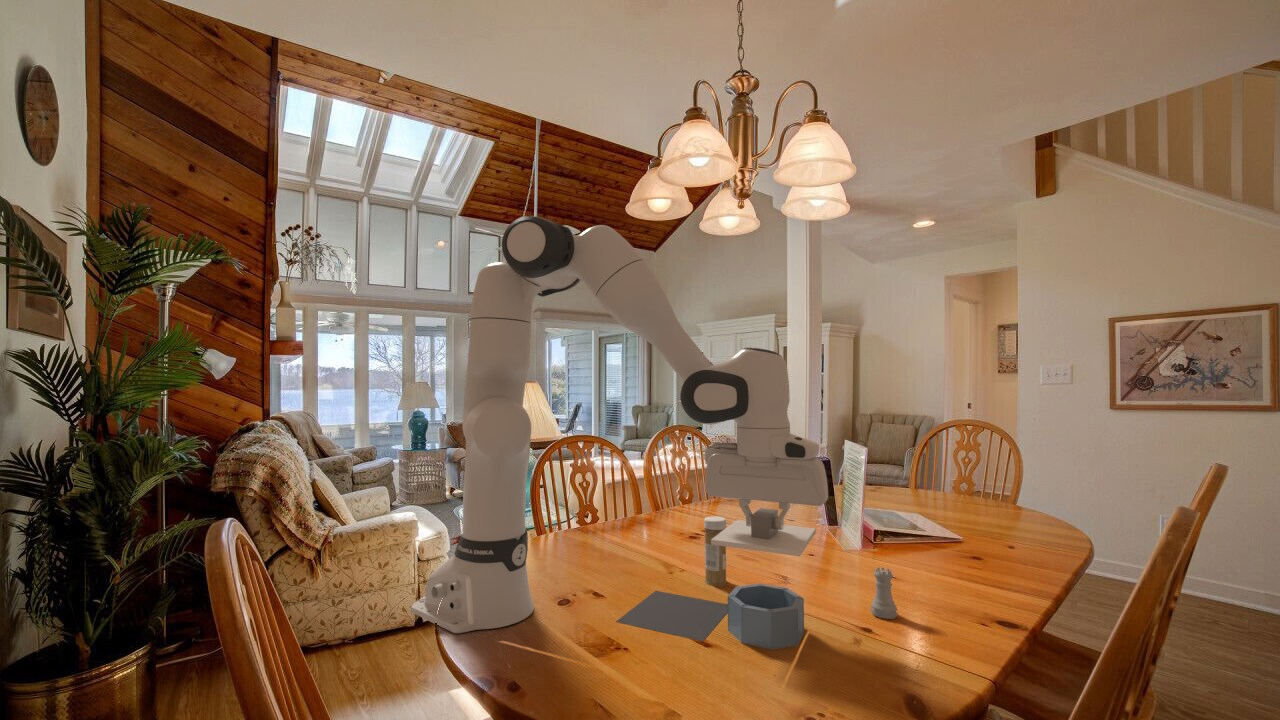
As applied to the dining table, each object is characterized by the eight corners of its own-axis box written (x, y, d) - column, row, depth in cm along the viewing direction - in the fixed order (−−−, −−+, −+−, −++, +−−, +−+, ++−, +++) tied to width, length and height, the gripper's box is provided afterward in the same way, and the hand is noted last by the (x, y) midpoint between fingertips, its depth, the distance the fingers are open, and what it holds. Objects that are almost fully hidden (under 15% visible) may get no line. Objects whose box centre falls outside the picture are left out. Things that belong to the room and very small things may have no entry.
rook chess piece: (882, 621, 95) (881, 575, 96) (865, 611, 99) (864, 566, 100) (903, 618, 96) (902, 572, 97) (885, 608, 101) (885, 564, 101)
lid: (711, 544, 88) (710, 517, 89) (736, 524, 101) (736, 500, 101) (799, 556, 82) (799, 527, 82) (815, 533, 94) (815, 507, 95)
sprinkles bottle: (731, 585, 113) (730, 518, 113) (714, 589, 110) (714, 521, 111) (716, 578, 117) (716, 514, 117) (699, 582, 114) (699, 517, 115)
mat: (615, 624, 94) (615, 621, 94) (655, 592, 109) (655, 590, 109) (703, 643, 87) (703, 641, 87) (733, 607, 101) (733, 605, 101)
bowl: (721, 640, 88) (720, 602, 88) (742, 614, 98) (741, 580, 99) (794, 657, 83) (793, 616, 83) (808, 627, 93) (807, 591, 93)
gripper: (698, 443, 94) (699, 525, 93) (822, 449, 85) (824, 539, 84) (711, 439, 100) (712, 516, 99) (828, 444, 90) (830, 529, 90)
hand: (764, 527), depth 91 cm, fingers closed on lid, 3 cm apart
